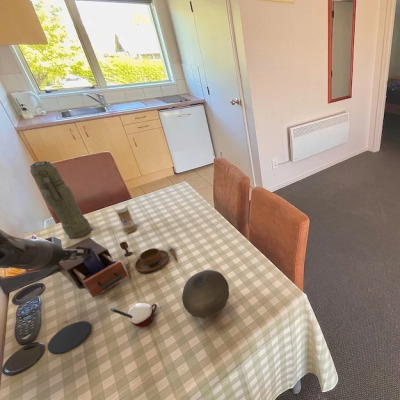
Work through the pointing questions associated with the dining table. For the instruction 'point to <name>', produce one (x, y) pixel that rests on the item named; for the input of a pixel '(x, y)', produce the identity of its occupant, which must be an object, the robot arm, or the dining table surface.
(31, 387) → the dining table surface
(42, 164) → the olive carved slab
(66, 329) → the mat
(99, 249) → the cabinet
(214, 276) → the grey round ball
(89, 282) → the drawer
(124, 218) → the sprinkles bottle
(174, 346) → the dining table surface
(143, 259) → the place setting
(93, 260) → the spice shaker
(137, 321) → the cocoa
